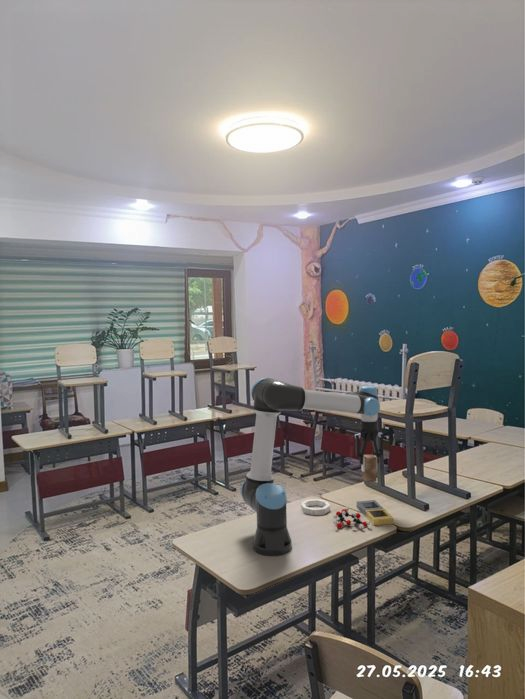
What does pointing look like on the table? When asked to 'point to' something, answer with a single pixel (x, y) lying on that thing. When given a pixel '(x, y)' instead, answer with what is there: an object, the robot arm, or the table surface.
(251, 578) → the table surface
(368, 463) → the walnut peg
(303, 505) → the white ring
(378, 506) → the yellow grey tray
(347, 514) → the molecular model
